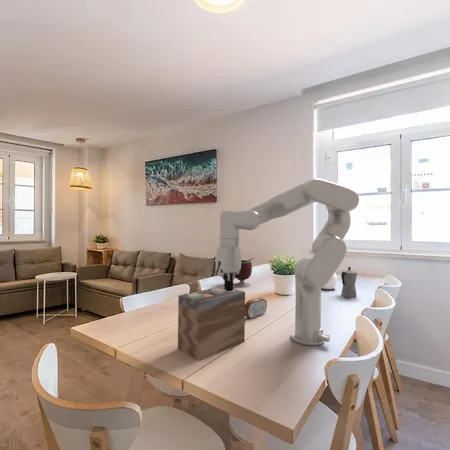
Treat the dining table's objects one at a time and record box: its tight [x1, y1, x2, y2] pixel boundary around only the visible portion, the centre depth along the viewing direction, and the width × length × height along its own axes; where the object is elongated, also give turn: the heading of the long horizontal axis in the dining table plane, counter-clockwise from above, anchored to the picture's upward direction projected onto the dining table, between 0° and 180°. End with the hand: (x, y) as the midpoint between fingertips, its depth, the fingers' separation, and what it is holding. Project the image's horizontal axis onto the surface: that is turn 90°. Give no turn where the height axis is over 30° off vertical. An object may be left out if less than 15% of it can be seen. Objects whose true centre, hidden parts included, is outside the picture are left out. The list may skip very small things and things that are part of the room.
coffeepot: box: [340, 266, 358, 299], centre depth 180 cm, size 15×9×18 cm, turn 129°
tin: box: [245, 297, 268, 319], centre depth 140 cm, size 15×3×8 cm, turn 135°
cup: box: [321, 272, 338, 290], centre depth 201 cm, size 13×13×14 cm
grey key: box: [210, 287, 226, 294], centre depth 109 cm, size 4×4×2 cm
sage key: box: [186, 292, 203, 300], centre depth 101 cm, size 4×4×2 cm
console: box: [177, 286, 246, 362], centre depth 107 cm, size 12×22×19 cm, turn 134°
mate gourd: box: [233, 257, 255, 288], centre depth 206 cm, size 16×14×20 cm
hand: (228, 290), depth 113 cm, fingers closed
